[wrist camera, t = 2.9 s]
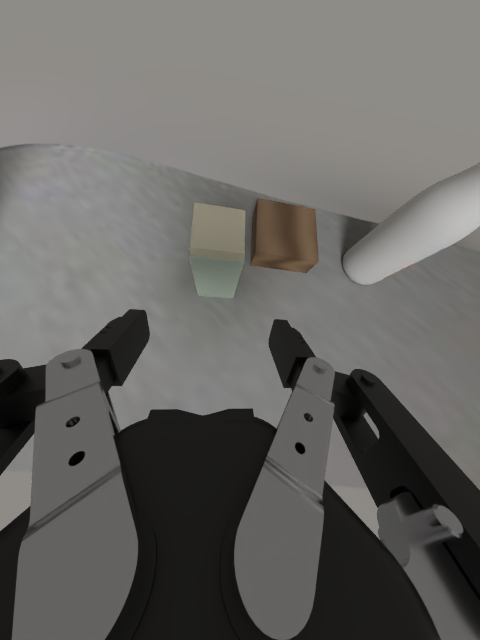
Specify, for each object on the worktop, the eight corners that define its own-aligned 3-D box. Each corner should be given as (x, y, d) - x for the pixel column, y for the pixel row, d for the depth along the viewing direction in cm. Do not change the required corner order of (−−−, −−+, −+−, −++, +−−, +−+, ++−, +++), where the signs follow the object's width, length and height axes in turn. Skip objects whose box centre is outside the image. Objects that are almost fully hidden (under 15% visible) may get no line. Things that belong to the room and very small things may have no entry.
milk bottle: (357, 293, 31) (600, 177, 11) (333, 258, 32) (518, 98, 12) (384, 276, 32) (633, 153, 13) (361, 244, 34) (560, 86, 14)
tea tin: (197, 295, 26) (187, 248, 15) (200, 264, 27) (192, 200, 16) (233, 298, 27) (246, 255, 16) (234, 267, 28) (247, 208, 17)
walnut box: (250, 266, 29) (255, 251, 25) (252, 218, 31) (257, 198, 28) (305, 273, 30) (318, 261, 26) (303, 227, 33) (315, 209, 29)
